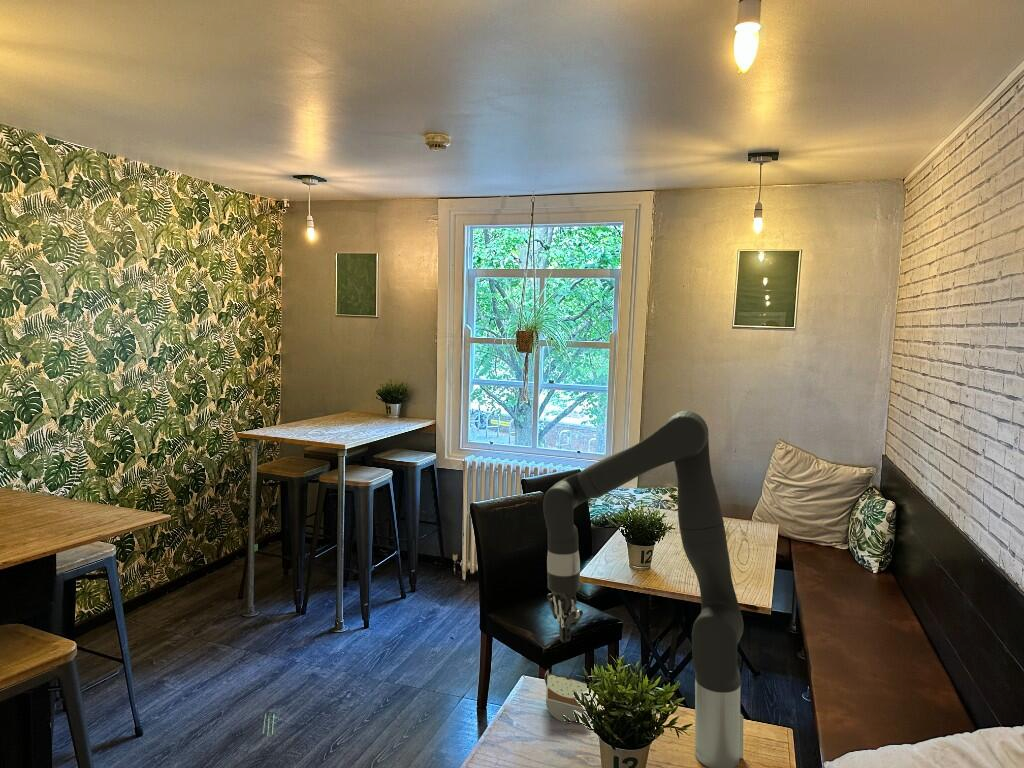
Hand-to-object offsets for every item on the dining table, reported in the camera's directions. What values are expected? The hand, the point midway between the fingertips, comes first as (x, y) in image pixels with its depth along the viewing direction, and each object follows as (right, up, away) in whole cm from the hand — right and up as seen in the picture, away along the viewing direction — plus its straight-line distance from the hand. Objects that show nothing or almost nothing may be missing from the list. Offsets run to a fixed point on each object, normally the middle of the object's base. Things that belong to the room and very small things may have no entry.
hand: (565, 640), depth 152 cm
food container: (0, -19, +2) cm, 19 cm away
